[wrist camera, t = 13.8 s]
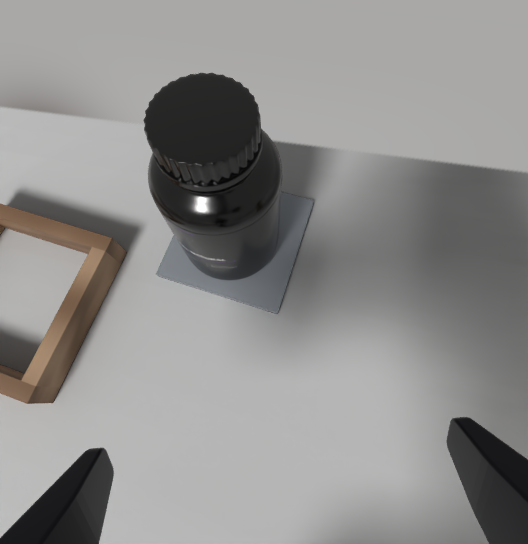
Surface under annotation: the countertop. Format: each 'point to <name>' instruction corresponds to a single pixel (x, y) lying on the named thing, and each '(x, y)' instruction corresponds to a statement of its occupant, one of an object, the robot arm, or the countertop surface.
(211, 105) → the supplement bottle
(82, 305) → the walnut holder
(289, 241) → the slate mat
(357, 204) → the countertop surface
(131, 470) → the countertop surface
